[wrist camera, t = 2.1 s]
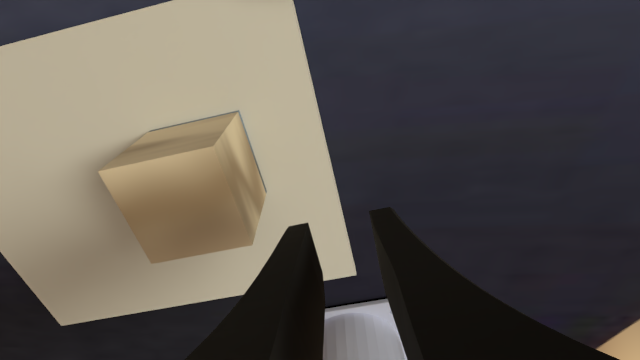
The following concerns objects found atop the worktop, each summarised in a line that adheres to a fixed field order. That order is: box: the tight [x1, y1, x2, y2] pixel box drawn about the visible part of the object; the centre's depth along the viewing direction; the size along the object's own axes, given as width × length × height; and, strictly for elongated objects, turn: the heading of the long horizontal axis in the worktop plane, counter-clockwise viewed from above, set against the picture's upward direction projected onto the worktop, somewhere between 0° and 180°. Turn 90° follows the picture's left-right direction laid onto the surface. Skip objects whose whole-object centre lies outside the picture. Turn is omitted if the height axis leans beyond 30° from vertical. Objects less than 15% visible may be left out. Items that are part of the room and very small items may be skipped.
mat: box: [0, 0, 356, 326], centre depth 21 cm, size 18×22×1 cm
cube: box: [98, 110, 267, 264], centre depth 17 cm, size 5×5×5 cm
